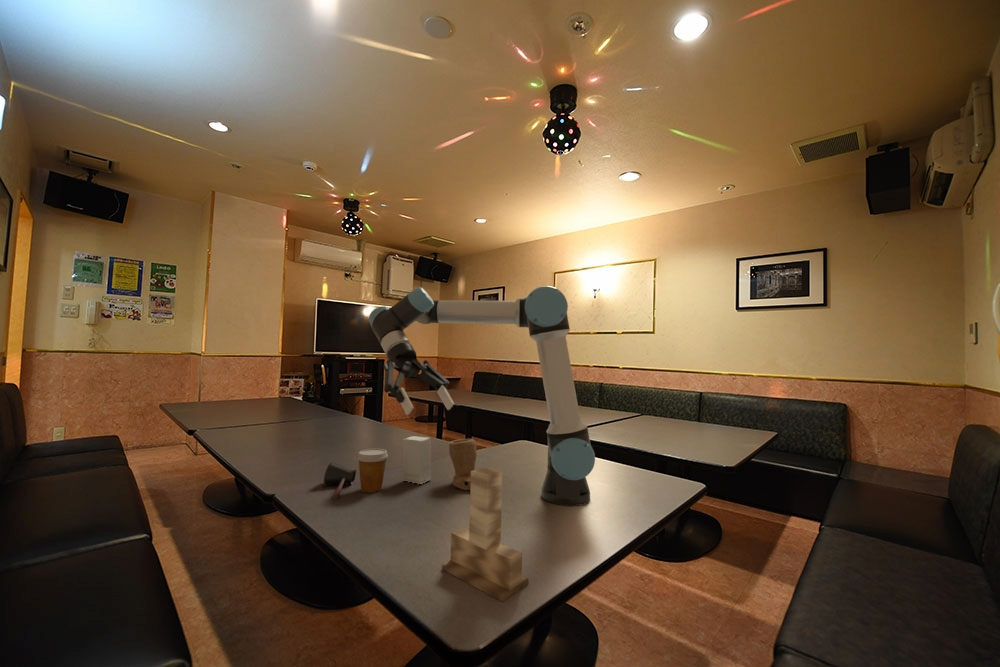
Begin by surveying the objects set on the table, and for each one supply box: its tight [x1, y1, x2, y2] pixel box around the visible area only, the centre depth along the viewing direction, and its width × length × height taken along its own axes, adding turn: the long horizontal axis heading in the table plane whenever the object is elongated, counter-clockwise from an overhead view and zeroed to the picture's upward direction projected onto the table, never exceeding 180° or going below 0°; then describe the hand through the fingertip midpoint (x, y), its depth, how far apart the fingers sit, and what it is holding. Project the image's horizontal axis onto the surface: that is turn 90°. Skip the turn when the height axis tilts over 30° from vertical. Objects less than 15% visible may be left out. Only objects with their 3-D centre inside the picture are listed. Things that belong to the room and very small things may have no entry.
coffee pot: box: [323, 461, 357, 500], centre depth 128 cm, size 8×18×8 cm
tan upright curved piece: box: [448, 438, 477, 491], centre depth 136 cm, size 15×12×15 cm
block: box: [468, 466, 503, 550], centre depth 80 cm, size 4×4×14 cm
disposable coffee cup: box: [356, 448, 389, 493], centre depth 128 cm, size 10×10×12 cm
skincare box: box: [402, 435, 432, 485], centre depth 138 cm, size 8×6×15 cm
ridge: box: [441, 527, 529, 602], centre depth 80 cm, size 16×8×6 cm, turn 50°
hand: (431, 409), depth 103 cm, fingers open, 13 cm apart
